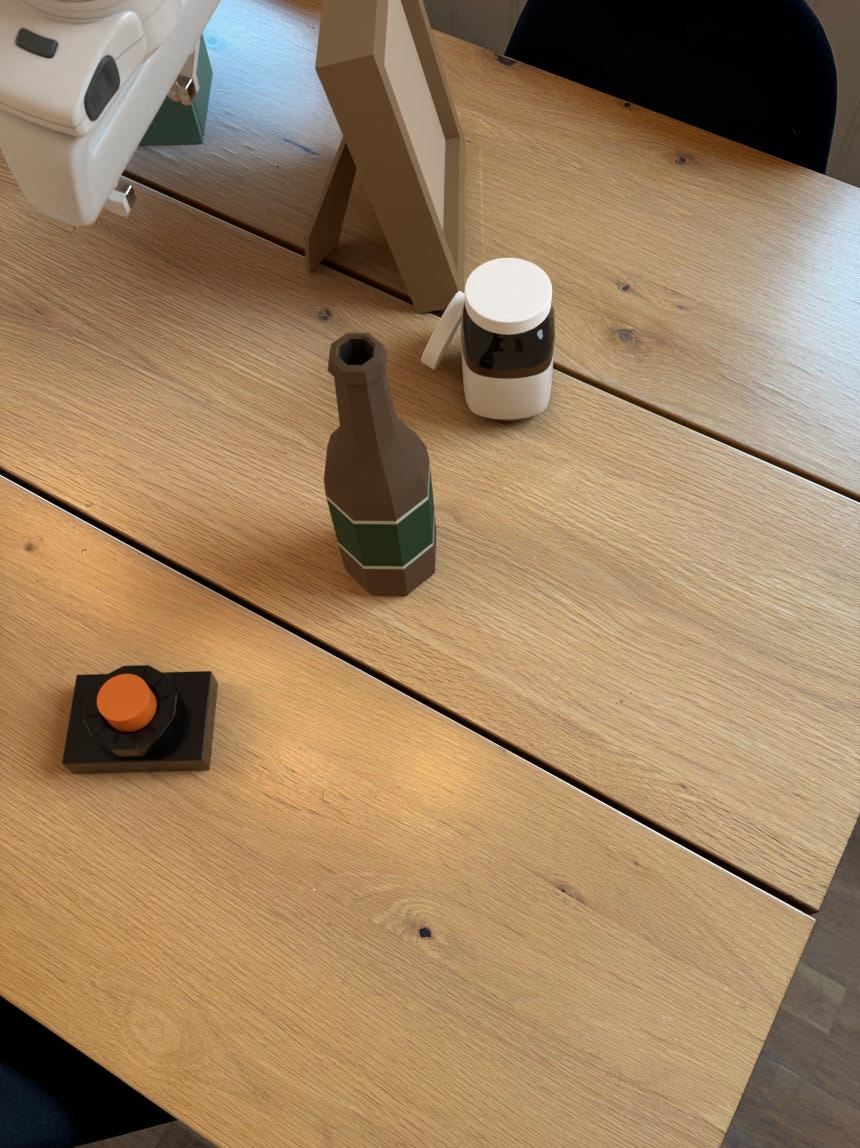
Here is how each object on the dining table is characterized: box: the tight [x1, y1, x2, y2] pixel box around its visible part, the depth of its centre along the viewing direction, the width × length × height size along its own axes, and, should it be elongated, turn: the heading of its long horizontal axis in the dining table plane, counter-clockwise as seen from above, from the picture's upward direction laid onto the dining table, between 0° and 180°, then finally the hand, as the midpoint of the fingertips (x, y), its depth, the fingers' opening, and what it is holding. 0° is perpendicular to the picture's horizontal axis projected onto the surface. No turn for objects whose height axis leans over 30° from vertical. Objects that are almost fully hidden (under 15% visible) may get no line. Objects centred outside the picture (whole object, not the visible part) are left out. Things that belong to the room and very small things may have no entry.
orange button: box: [97, 674, 157, 732], centre depth 74 cm, size 4×4×2 cm
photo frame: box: [304, 0, 466, 315], centre depth 90 cm, size 15×22×25 cm
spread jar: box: [420, 257, 556, 422], centre depth 87 cm, size 12×11×12 cm
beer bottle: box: [323, 331, 437, 596], centre depth 73 cm, size 8×8×24 cm
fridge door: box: [138, 95, 204, 146], centre depth 100 cm, size 7×13×13 cm, turn 91°
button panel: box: [61, 664, 219, 775], centre depth 76 cm, size 10×7×4 cm
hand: (153, 149), depth 71 cm, fingers open, 8 cm apart
